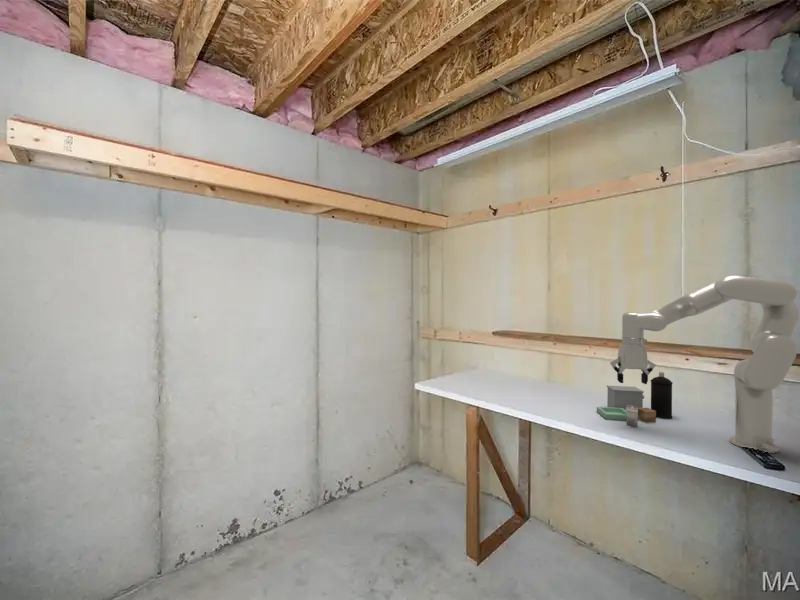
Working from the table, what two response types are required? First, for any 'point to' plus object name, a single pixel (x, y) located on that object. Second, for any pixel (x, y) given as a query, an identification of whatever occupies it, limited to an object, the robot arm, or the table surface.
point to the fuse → (632, 415)
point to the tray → (612, 413)
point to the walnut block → (646, 415)
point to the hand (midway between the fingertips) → (632, 382)
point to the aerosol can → (661, 396)
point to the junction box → (624, 397)
